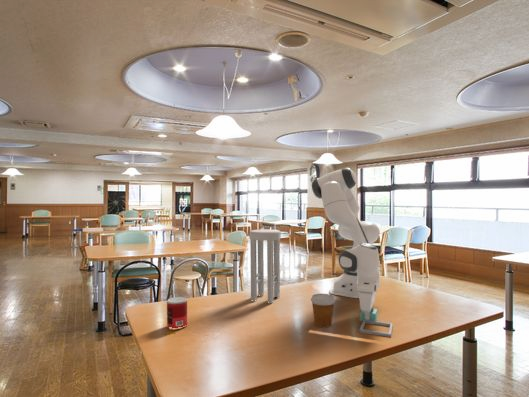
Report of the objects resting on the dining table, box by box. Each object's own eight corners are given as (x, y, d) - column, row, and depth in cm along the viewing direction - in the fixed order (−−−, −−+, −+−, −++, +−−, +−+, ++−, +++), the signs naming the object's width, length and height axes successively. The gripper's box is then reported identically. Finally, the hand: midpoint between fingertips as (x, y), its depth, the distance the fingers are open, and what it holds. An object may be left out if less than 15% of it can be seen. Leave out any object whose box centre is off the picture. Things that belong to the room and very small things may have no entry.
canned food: (190, 324, 136) (190, 297, 136) (179, 331, 128) (179, 303, 128) (174, 322, 138) (174, 295, 138) (163, 329, 131) (162, 301, 131)
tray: (359, 334, 124) (359, 329, 124) (363, 324, 134) (363, 319, 134) (390, 339, 119) (390, 334, 119) (392, 328, 129) (392, 323, 129)
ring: (360, 320, 136) (360, 311, 136) (362, 315, 141) (362, 307, 141) (375, 322, 133) (375, 313, 133) (377, 317, 139) (377, 309, 139)
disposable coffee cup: (320, 333, 126) (320, 301, 126) (306, 324, 134) (306, 295, 134) (340, 328, 130) (340, 298, 130) (325, 320, 138) (325, 292, 138)
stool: (245, 301, 164) (244, 231, 164) (257, 293, 179) (257, 228, 179) (274, 305, 159) (273, 232, 159) (284, 296, 173) (284, 229, 173)
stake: (358, 322, 136) (358, 310, 136) (361, 317, 142) (361, 305, 142) (376, 325, 133) (376, 313, 133) (378, 319, 139) (378, 307, 139)
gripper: (363, 276, 148) (364, 307, 148) (356, 288, 129) (356, 323, 129) (378, 278, 145) (379, 309, 145) (373, 289, 127) (373, 325, 127)
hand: (368, 316), depth 137 cm, fingers closed on ring, 6 cm apart
